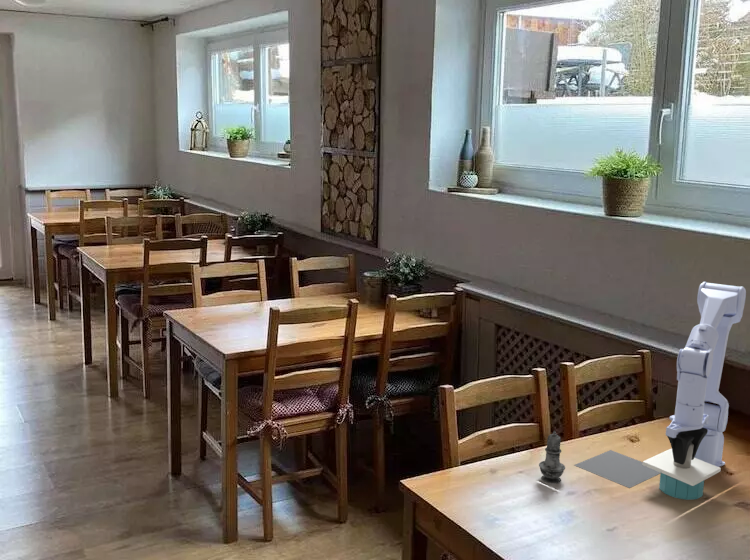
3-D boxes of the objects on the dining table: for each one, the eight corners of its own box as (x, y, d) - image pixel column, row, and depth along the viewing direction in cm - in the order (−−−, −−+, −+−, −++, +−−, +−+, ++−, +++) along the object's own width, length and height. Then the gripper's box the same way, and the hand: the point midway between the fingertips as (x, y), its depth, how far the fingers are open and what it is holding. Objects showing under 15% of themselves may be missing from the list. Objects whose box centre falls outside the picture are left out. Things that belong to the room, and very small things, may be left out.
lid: (670, 451, 185) (674, 428, 183) (720, 471, 176) (724, 447, 175) (642, 464, 177) (645, 440, 176) (693, 486, 168) (697, 460, 167)
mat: (610, 451, 198) (610, 450, 198) (665, 472, 187) (665, 470, 187) (573, 466, 189) (573, 465, 189) (629, 489, 178) (629, 487, 178)
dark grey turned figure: (564, 487, 178) (568, 437, 175) (537, 484, 179) (541, 434, 177) (563, 476, 183) (567, 427, 181) (537, 473, 185) (541, 424, 182)
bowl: (672, 479, 184) (674, 460, 183) (709, 493, 177) (712, 474, 176) (651, 489, 178) (653, 470, 177) (688, 504, 171) (691, 485, 170)
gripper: (690, 390, 181) (684, 446, 183) (655, 403, 172) (649, 462, 174) (720, 399, 176) (713, 457, 178) (685, 413, 166) (679, 473, 169)
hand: (683, 460), depth 176 cm, fingers closed on lid, 3 cm apart
